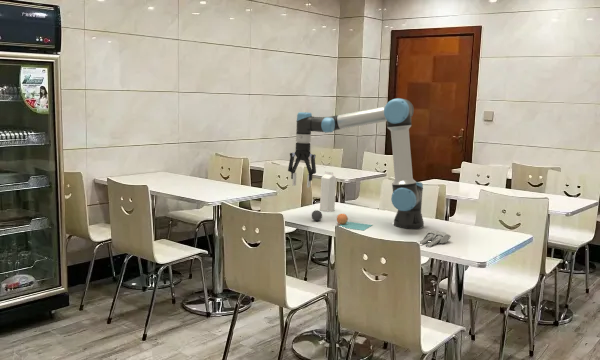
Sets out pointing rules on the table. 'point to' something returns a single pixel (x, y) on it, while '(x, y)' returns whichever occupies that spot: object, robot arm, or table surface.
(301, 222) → the table surface
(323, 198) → the milk
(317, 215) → the ball
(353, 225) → the mark
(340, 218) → the ball
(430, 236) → the grey glove
